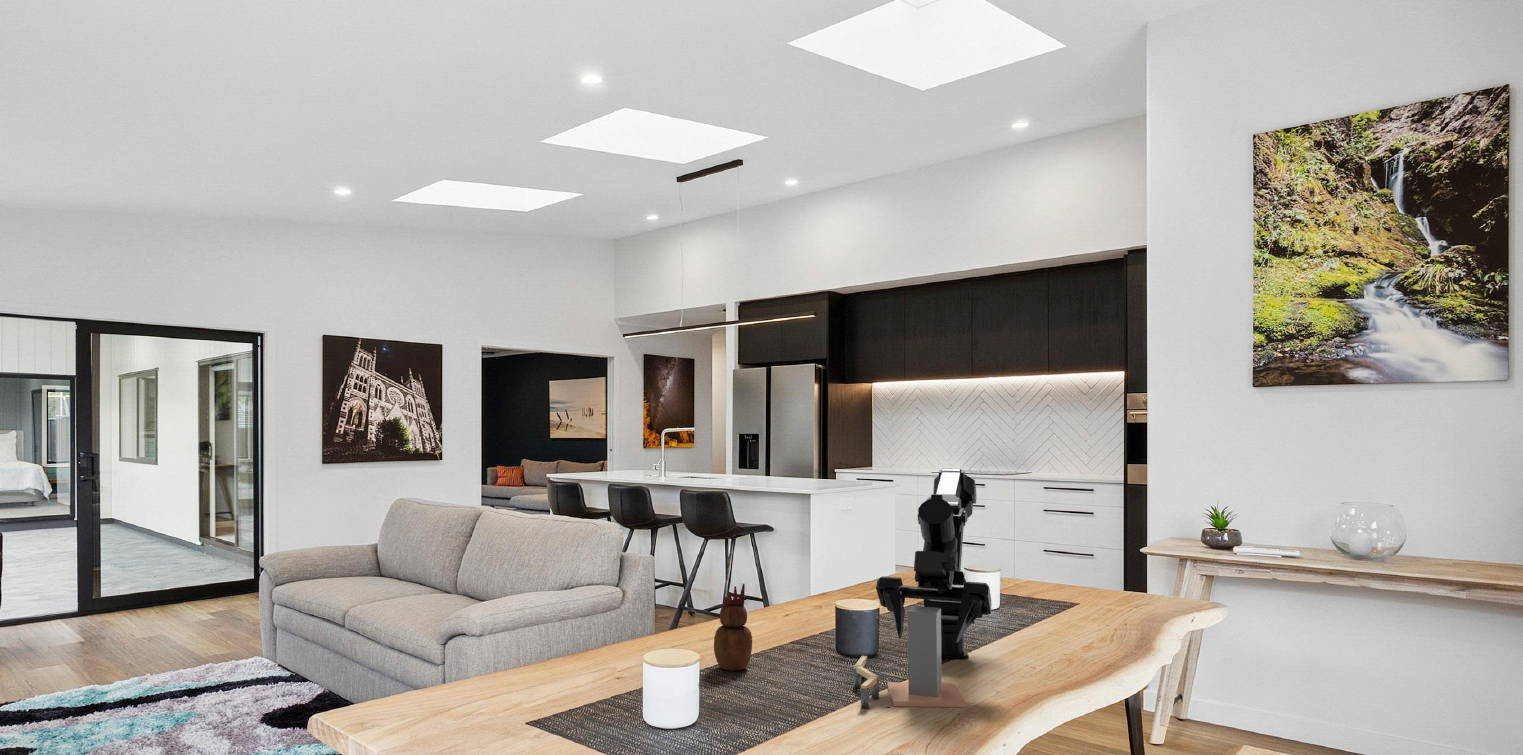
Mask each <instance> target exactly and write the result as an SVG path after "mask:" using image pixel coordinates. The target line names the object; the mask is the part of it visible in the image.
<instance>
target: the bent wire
mask: <svg viewBox="0 0 1523 755" xmlns="http://www.w3.org/2000/svg"><path fill="white" fill-rule="evenodd" d="M868 664H869V663H868V655H861V656H860V657H859V659H858V661H857V662H856V663H855V664H854V665H853V688H855V689H860V708H861V709H862V710H863V709H865V710H867V709H870V708H869V706H870V705H869V703H870V700H869V699H870V698H869V695H870V694H871V699H872V700H878V699H880V676H879V675H877V674H876V673H874V672H872V671H870V670H869V669H868ZM862 678H864V679H867V680H865V681H864V682H863V683H862ZM869 690H871V693H870V694H869V692H870V691H869Z"/></svg>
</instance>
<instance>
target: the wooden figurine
mask: <svg viewBox="0 0 1523 755" xmlns="http://www.w3.org/2000/svg"><path fill="white" fill-rule="evenodd" d="M745 586H746V585H745V583H742V586H741V588H740V589H741V590H740V593H739V596H738V591H737V586H734V588H733V596H732V593H731V592H728V597H727V596H724V599H723V604H722V607H721V608H720V611H719V623H720V624H721V626H719V627H717V629H716V631H715V633H714V636H713V637H714V639H713V652H714V656H715V660H716V662H717V664H718V666H719V667H720V668H721V669H723V670H725V671H728V672H737V671H742V670H744V669H746V668H748V665H749V663H750V660H751V656H752V650H753V635H752V632H751V630H750V628H749V627H747V626H746V624H747V621H748V612H747V609H746V608H745V588H746V587H745Z"/></svg>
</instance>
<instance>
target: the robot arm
mask: <svg viewBox="0 0 1523 755" xmlns="http://www.w3.org/2000/svg"><path fill="white" fill-rule="evenodd" d="M975 504H977V486H976V480H975V479H974V478H972V477H970V476H969V475H967V474H966V473H965V470H963V469H962V468H942V469H939V471H938V476H936V477H935V478H934V479H933V494H931V495H930V497H928V498H926V500H924V501H923V502H922V503H921V504H920V505H919V507H918V509H917V512H918V513H917V521H918V523H917V524H918V525H919V526H920V533H921V537H922V539H923V540H924V541H923V549H922V550H916V551H915V552H914V561H913V562H914V563H913V564H914V565H913V571H914V572H915V573H914V574H915V575H914V581H915V582H916V583H917V586H916V585H904V584H903V579H902V577H899V576H885V575H883V576H880V577H879V578H878V579H877V581H876V585H875V589H876V593H877V597H878V600H879V603H880V606H882V607H884V608H886V609H887V610H888V611H889V612H892V613H893V615H894V619H895V620H894V621H895V626H896V631H897V632H896V633H897V637H898V638H899V639H902V637H903V636H902V635H903V633H904V624H905V623H904V622H905V621H904V620H905V614H906V613H905V611H906V610H905V602H906V599H914V600H916V599H917V600H923V607H934V608H941V659H947V658H948V659H969V658H970V655H969V654H968V652H967V651H966V650H965V633H966V631H967V630H968V628H969V627H970V626H971V625H972V624H975V622H976V620H977V619H982V618H983V615H984V616H988V615H990V614H992V605H993V604H992V594H991V589H990V588H991V587H990V586H989V585H988V583H987V582H982V581H981V582H978V581H977V582H975V581H967V579H966V578H965V574H964V572H963V570H962V568H961V567H962V557H963V556H962V555H963V541H964V540H963V539H964V528H965V526H966V524H967V522H968V520H969V518H970V517H971V516H972V515H973V509H974V508H973V507H974V505H975Z"/></svg>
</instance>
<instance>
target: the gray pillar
mask: <svg viewBox="0 0 1523 755" xmlns="http://www.w3.org/2000/svg"><path fill="white" fill-rule="evenodd" d="M907 650H908V651H907V660H908V661H907V662H908V664H907V665H908V669H907V670H908V675H907V677H908V679H907V680H908V682H907V683H908V687H909V694H910V695H920V696H929V697H938V695H939V693H940V691H941V690H942V683H943V682H942V676H943V675H942V673H943V672H942V658H941V608H934V607H924V606H918V605H913V606H911V607H910V608H909V610H908V611H907Z"/></svg>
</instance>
